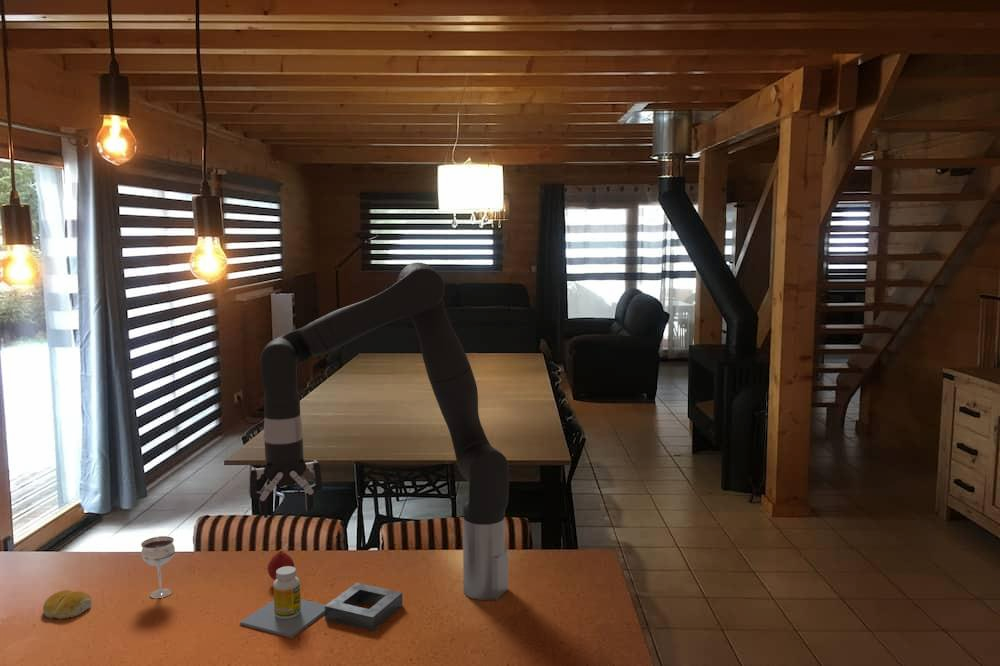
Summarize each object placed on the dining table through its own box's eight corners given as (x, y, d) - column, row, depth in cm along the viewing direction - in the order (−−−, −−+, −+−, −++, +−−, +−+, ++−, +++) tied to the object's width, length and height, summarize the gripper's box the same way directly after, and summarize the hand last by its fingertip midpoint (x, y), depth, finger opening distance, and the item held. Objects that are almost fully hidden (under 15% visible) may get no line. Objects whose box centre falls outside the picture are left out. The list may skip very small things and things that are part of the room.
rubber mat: (330, 608, 167) (330, 606, 166) (291, 638, 155) (291, 635, 155) (281, 597, 172) (281, 594, 172) (240, 624, 160) (240, 621, 160)
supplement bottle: (278, 607, 166) (276, 564, 164) (303, 607, 166) (301, 564, 165) (271, 620, 160) (269, 576, 159) (297, 619, 161) (296, 575, 159)
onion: (263, 583, 178) (261, 549, 177) (285, 574, 183) (284, 542, 181) (277, 591, 174) (275, 557, 173) (299, 582, 179) (298, 549, 178)
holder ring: (402, 605, 168) (402, 592, 167) (372, 631, 157) (372, 617, 157) (356, 595, 173) (356, 582, 172) (325, 619, 162) (324, 605, 162)
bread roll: (64, 599, 171) (62, 582, 170) (98, 604, 169) (97, 586, 168) (33, 617, 163) (31, 599, 163) (69, 623, 161) (67, 604, 160)
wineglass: (137, 598, 171) (133, 545, 170) (160, 584, 178) (157, 534, 176) (161, 603, 169) (158, 550, 167) (184, 589, 175) (181, 538, 174)
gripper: (248, 446, 153) (252, 525, 155) (322, 438, 158) (325, 514, 160) (245, 436, 160) (249, 512, 162) (316, 429, 165) (319, 502, 167)
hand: (287, 513), depth 161 cm, fingers open, 8 cm apart
